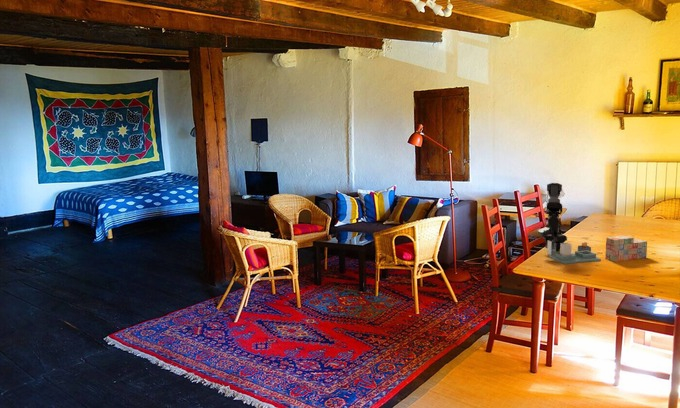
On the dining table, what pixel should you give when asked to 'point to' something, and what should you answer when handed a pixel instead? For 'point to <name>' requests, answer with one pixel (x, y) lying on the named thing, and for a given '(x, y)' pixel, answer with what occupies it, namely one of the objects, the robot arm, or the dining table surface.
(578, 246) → the button housing
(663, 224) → the dining table surface
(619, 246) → the stack of blocks
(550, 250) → the steel billet
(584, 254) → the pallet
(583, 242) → the button
